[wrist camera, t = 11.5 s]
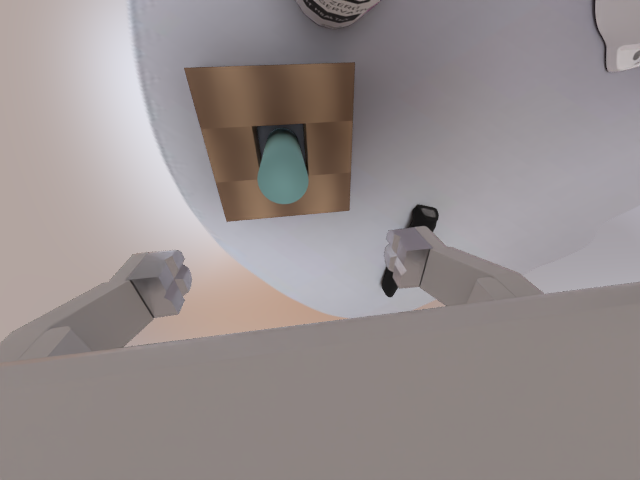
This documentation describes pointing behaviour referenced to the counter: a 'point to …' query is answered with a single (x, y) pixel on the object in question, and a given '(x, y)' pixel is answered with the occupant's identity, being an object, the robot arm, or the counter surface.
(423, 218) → the electric trimmer
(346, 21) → the supplement can
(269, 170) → the peg
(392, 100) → the counter surface
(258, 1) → the counter surface
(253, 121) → the socket block
